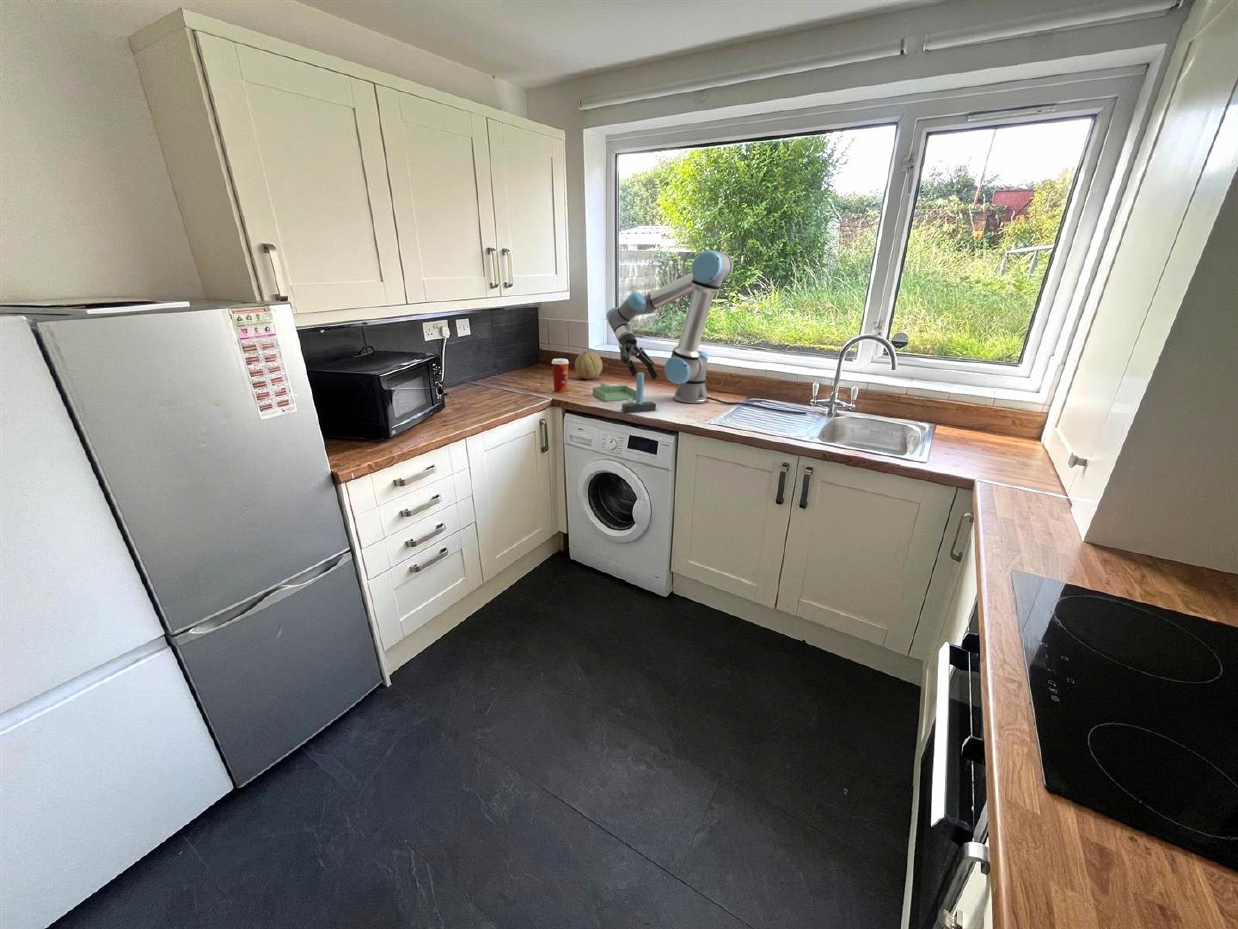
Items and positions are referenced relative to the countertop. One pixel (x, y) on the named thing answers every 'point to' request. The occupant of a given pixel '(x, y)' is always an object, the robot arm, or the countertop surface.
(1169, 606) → the countertop surface
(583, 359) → the cantaloupe
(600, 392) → the green tray
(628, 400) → the crumb ball
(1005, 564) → the countertop surface
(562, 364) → the coffee cup
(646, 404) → the wiper
